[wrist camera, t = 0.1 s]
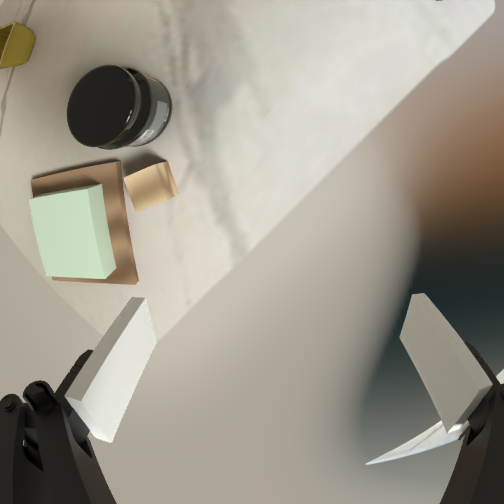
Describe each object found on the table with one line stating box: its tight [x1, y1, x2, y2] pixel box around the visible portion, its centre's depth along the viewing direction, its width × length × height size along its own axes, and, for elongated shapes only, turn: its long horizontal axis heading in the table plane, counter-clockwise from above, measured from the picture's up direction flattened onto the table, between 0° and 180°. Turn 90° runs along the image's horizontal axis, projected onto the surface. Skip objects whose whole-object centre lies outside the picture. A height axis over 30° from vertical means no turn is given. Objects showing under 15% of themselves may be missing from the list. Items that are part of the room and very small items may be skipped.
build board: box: [31, 161, 139, 285], centre depth 41 cm, size 20×20×2 cm
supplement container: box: [67, 65, 172, 150], centre depth 29 cm, size 10×10×12 cm
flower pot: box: [0, 22, 35, 69], centre depth 23 cm, size 9×9×9 cm
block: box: [124, 161, 178, 212], centre depth 36 cm, size 5×5×5 cm
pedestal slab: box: [28, 184, 116, 279], centre depth 38 cm, size 14×14×4 cm
